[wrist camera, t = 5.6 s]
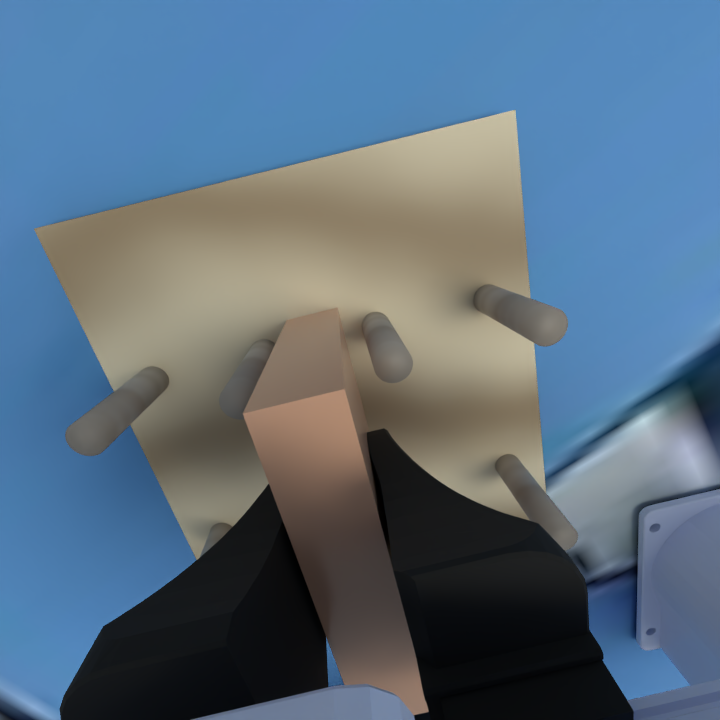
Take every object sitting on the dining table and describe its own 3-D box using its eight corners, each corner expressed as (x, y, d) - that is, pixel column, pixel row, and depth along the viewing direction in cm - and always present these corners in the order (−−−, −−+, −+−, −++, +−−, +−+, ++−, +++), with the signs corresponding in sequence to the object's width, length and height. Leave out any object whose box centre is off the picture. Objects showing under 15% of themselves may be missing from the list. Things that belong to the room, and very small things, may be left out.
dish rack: (542, 543, 18) (610, 646, 14) (236, 615, 19) (205, 741, 14) (504, 116, 12) (603, 54, 8) (51, 228, 13) (-107, 230, 8)
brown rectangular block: (390, 513, 16) (430, 711, 10) (348, 523, 16) (360, 727, 10) (337, 307, 13) (344, 389, 7) (286, 319, 13) (242, 413, 7)
